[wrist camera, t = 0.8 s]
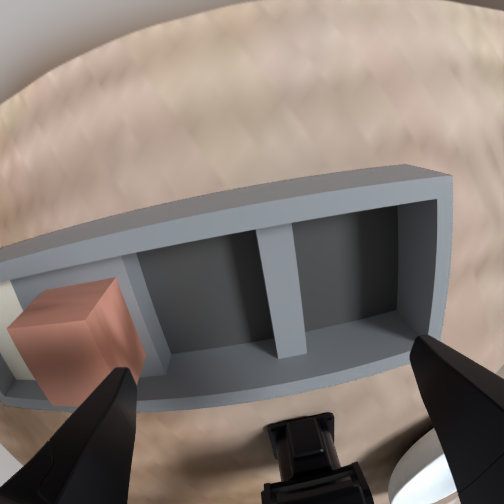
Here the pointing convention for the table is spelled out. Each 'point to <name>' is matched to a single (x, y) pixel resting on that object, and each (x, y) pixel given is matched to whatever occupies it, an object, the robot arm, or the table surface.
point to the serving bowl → (421, 474)
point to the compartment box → (254, 285)
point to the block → (77, 339)
